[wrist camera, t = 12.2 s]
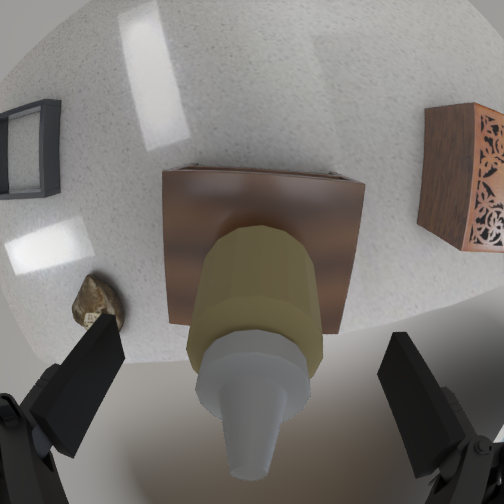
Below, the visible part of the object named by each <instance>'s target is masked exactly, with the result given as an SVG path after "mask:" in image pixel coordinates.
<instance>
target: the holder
mask: <svg viewBox="0 0 504 504" xmlns="http://www.w3.org/2000/svg"><path fill="white" fill-rule="evenodd" d="M60 109H61V100H52V99H43V100H39V101H36V102H32V103H29V104H26V105H23V106H20V107H17V108H14V109H11V110H8V111H6V112H3V113H0V200H10V199H28V198H46V197H49V196H52V195H55V194H58V193H60V174H59V128H60ZM39 111H40V127H39V173H40V188H34V189H21V190H9V186H8V166H7V134H8V120H12V119H15V118H18V117H21V116H25V115H28V114H32V113H35V112H39Z"/></svg>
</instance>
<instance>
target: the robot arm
mask: <svg viewBox="0 0 504 504" xmlns="http://www.w3.org/2000/svg"><path fill="white" fill-rule="evenodd" d="M124 360H125V356H124V351H123V347H122V343H121V339H120V334H119V330H118V325H117V320H116V315H113V314H107V313H101V315H100V316H99V317H98V318H97V319H96V321H95V322H94V323H93V324H92V326H91V327H90V328H89V329H88V331H87V332H86V333H85V334H84V336H83V337H82V338H81V339H80V341H79V342H78V343H77V344H76V346H75V347H74V348H73V350H72V351H71V352H70V354H69V355H68V356H67V358H66V359H65V360H64V361H63V363H62V364H61V365H59V364H56V363H55V364H53V365H52V366H51V367H49V368H47V369H46V370H45V372H44V373H43V374H42V376H41V377H40V379H38V381H37V382H36V383H35V385H34V386H33V388H32V389H31V390H30V392H29V393H28V394H27V396H26V397H25V398H24V400H23V401H22V403H21V404H20V406H19V405H18V404H17V402H16V401H15V399H14V398H13V397H12V396H11V395H10V394H7V393H1V394H0V504H69V502H68V500H67V497H66V495H65V492H64V489H63V487H62V484H61V481H60V478H59V475H58V472H57V468H56V465H55V462H54V458H53V455H52V453H51V451H50V449H51V447H52V445H53V446H54V447H55V448H56V450H57V451H58V452H60V453H61V454H64V455H66V456H68V457H71V458H74V456H75V454H76V452H77V450H78V448H79V446H80V444H81V442H82V440H83V438H84V436H85V434H86V432H87V430H88V428H89V426H90V424H91V422H92V420H93V418H94V416H95V414H96V412H97V410H98V408H99V406H100V404H101V402H102V401H103V398H104V397H105V395H106V393H107V391H108V389H109V387H110V385H111V383H112V382H113V380H114V378H115V376H116V374H117V372H118V370H119V369H120V367H121V365H122V364H123V362H124ZM377 375H378V378H379V380H380V383H381V385H382V388H383V390H384V393H385V395H386V398H387V400H388V402H389V405H390V408H391V410H392V413H393V416H394V418H395V421H396V424H397V426H398V429H399V432H400V434H401V437H402V440H403V443H404V446H405V448H406V451H407V454H408V457H409V460H410V463H411V465H412V469H413V472H414V475H415V478H416V479H417V478H420V477H423V476H427V475H430V474H432V473H433V472H434V471H435V470H436V469H437V468H438V467H439V470H440V473H439V474H438V475H437V476H436V477H435V478H434V479H433V480H432V481H431V482H430V483H429V484H428V485H429V486H430V485H432V484H433V483H434V485H433V487H432V489H431V492H430V494H429V496H428V498H427V500H426V502H425V504H504V442H499V443H492V442H491V441H490V440H489V439H488V438H487V437H485V436H481V435H479V436H478V435H477V434H476V432H475V430H474V428H473V426H472V424H471V423H470V421H469V419H468V417H467V415H466V414H465V412H464V411H463V408H462V407H461V405H460V404H459V401H458V400H457V398H456V396H455V394H454V393H453V392H452V391H451V390H449V389H448V388H447V387H442V388H440V387H439V385H438V383H437V381H436V380H435V378H434V376H433V374H432V373H431V371H430V369H429V368H428V366H427V364H426V363H425V361H424V359H423V358H422V356H421V354H420V353H419V351H418V350H417V348H416V347H415V345H414V344H413V342H412V340H411V339H410V337H409V336H408V334H407V333H406V332H393V333H392V336H391V340H390V342H389V345H388V347H387V350H386V353H385V355H384V358H383V360H382V363H381V365H380V368H379V370H378V373H377ZM500 479H501V484H500Z"/></svg>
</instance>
